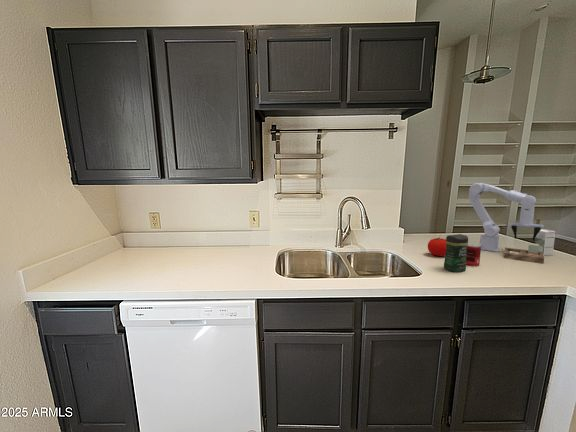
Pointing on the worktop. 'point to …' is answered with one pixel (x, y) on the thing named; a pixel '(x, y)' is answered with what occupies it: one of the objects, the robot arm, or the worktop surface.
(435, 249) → the tomato
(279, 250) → the worktop surface
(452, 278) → the worktop surface
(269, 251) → the worktop surface
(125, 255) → the worktop surface
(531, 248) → the grey-green block
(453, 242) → the coffee jar
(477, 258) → the canned food
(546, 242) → the syrup box
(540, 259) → the socket board
